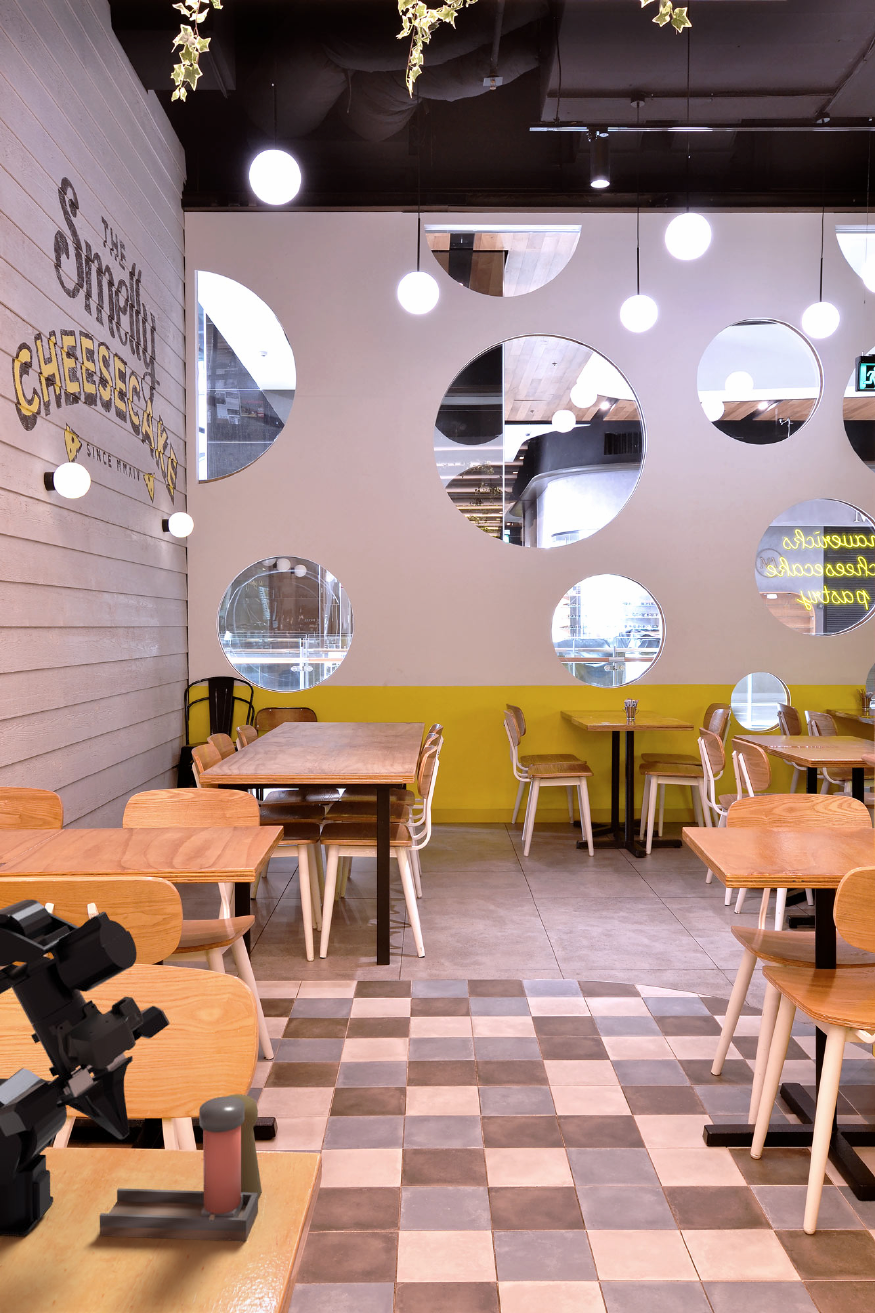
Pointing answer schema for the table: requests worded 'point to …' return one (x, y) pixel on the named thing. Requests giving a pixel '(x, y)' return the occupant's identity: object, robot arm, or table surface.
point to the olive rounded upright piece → (249, 1147)
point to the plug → (222, 1156)
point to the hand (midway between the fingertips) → (124, 1136)
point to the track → (174, 1216)
